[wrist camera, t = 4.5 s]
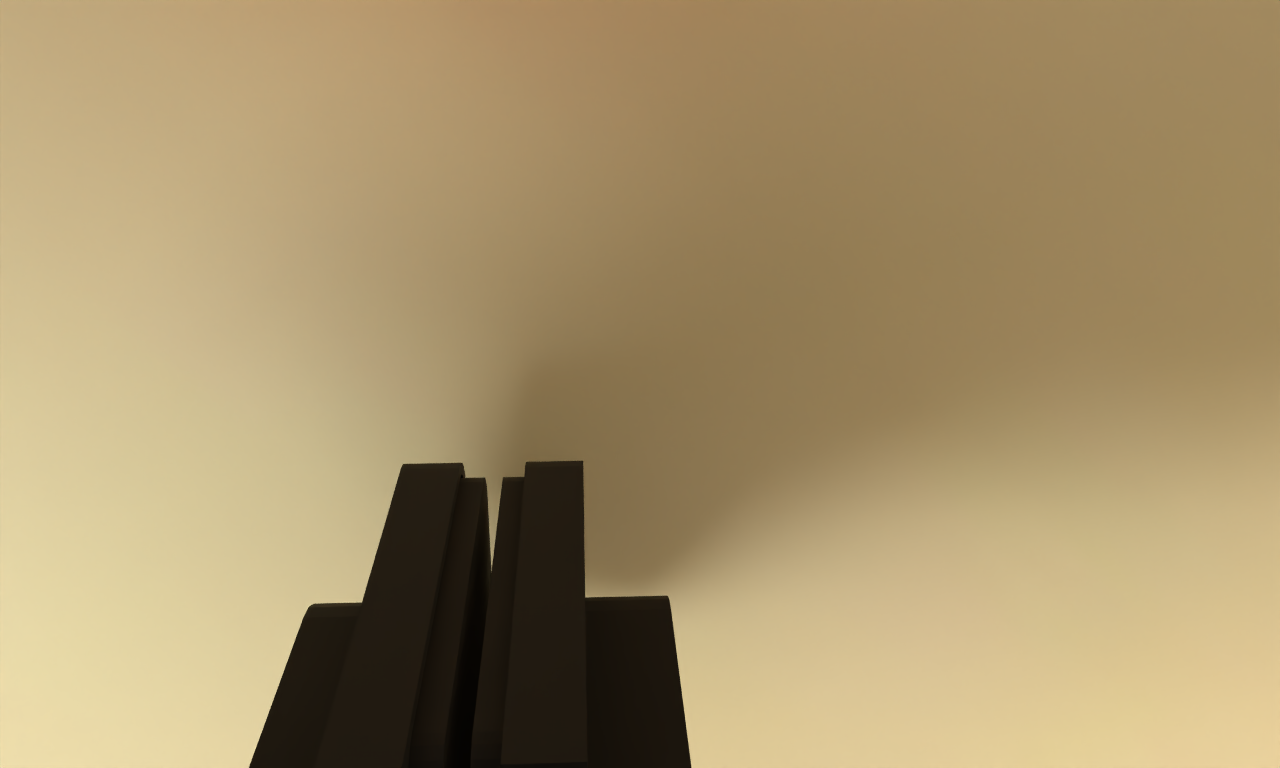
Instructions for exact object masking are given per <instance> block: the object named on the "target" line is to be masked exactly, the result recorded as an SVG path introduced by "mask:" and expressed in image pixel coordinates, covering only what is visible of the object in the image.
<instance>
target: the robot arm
mask: <svg viewBox="0 0 1280 768" xmlns="http://www.w3.org/2000/svg"><path fill="white" fill-rule="evenodd" d="M249 768H691V761H690V753H689V745H688V738H687V730H686V722H685V714H684V707H683V699H682V691H681V684H680V676H679V668H678V660H677V653H676V645H675V637H674V629H673V622H672V614H671V607H670V601H669V598H668V596H635V597H591V598H585V558H584V483H583V461H551V462H526V465H525V476H524V477H504V478H503V481H502V489H501V498H500V506H499V515H498V523H497V531H496V540H495V548H494V557H493V565H492V573H491V554H490V535H489V516H488V497H487V484H486V479H485V478H465V471H464V466H463V463H429V464H403V465H402V468H401V470H400V474H399V477H398V481H397V484H396V488H395V491H394V495H393V498H392V501H391V505H390V508H389V512H388V515H387V519H386V522H385V525H384V529H383V532H382V536H381V539H380V543H379V546H378V550H377V553H376V556H375V560H374V563H373V567H372V570H371V574H370V577H369V581H368V584H367V587H366V591H365V594H364V598H363V601H362V603H324V604H313V605H311V606H310V607H309V608H308V610H307V612H306V614H305V616H304V617H303V620H302V623H301V626H300V629H299V631H298V634H297V637H296V640H295V642H294V645H293V648H292V651H291V653H290V656H289V659H288V662H287V664H286V667H285V670H284V673H283V675H282V678H281V681H280V684H279V686H278V689H277V692H276V695H275V697H274V700H273V703H272V706H271V708H270V711H269V714H268V717H267V719H266V722H265V725H264V728H263V730H262V733H261V736H260V739H259V741H258V744H257V747H256V750H255V752H254V755H253V758H252V761H251V763H250V766H249Z"/></svg>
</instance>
